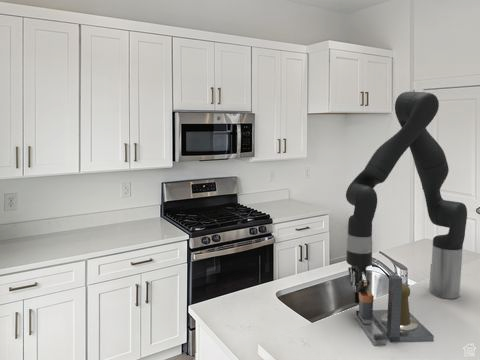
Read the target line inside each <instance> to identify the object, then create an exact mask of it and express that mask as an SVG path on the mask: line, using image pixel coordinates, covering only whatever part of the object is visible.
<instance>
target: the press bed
mask: <svg viewBox="0 0 480 360" xmlns="http://www.w3.org/2000/svg"><path fill="white" fill-rule="evenodd" d="M402 284H403V277H401V276H400V275H397V274H396V275H395V274H394V275H393V274H390V275H388V296H387V298H388V299H387V309H373V316H372V320H373V323H375V325H376V326H377V327H378V328H379V330H380V331H381V332H382V334H385V335H386V339H387V340H388V341H389V342H390V343H402V342H403V343H404V342H405V343H407V342H408V343H409V342H434V341H435V340H434V337H435V336H434V334H432V332H431V331H429V329H427V328H426V327H425V325H423V324H422V323H421V322H420V321H419V320H418V319H417V318H416V317H415V316H414V315H413V314H412V313H411V312H410V324H409V325H407V326H400V319H401V297H402Z"/></svg>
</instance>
